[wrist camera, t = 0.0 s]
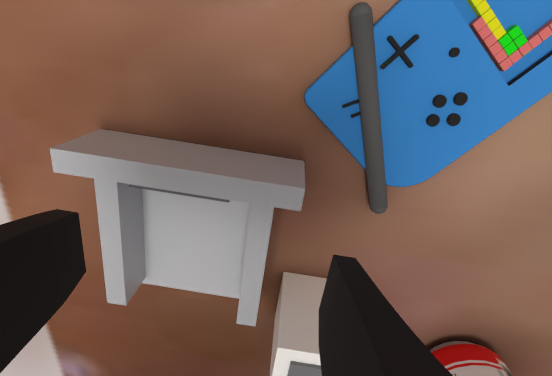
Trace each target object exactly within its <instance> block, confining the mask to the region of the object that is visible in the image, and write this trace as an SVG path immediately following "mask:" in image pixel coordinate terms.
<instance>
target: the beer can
mask: <svg viewBox="0 0 552 376" xmlns="http://www.w3.org/2000/svg"><path fill="white" fill-rule="evenodd" d="M429 351H430V352H431V353H432V354H433V355H434V356H435V357H436V358H437V359H438V360H439V362H440V363H441V364H442V365H443V366H444V367H445V368H446V369H447V370H448V371H449V372H450V373H451V374H452V375H453V376H513V375H512V374H511V372H510V371H509V369H508V368H507V366H506V365H505V363H504V362H503V360H502V359H501V358H500V357H499V356H498V355H497V354H496V353H494V352H493V351H491V350H490V349H488V348H486V347H484V346H480V345H477V344H474V343H470V342H467V341H452V342H446V343H442V344H440V345H438V346H435V347H433V348H432V349H431V350H429Z"/></svg>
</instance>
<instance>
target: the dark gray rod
mask: <svg viewBox="0 0 552 376" xmlns="http://www.w3.org/2000/svg"><path fill="white" fill-rule="evenodd" d="M350 23H351V33H352V42H353V52H354V61H355V71H356V80H357V90H358V99H359V109H360V112H361V115H360V119H361V128H362V138H363V147H364V157H365V166H366V176H367V185H368V195H369V204H370V209H371V210H372V211H373V212H374V213H377V214H380V213H383V212H385V211H386V209H387V206H388V204H387V191H386V179H385V166H384V154H383V141H382V129H381V116H380V104H379V91H378V79H377V66H376V54H375V42H374V29H373V17H372V9H371V7H370V6H369V5H368V4H367V3H363V2H361V3H358V4H356V5H355V6H354V7H353V8H352V10H351V12H350Z"/></svg>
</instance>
